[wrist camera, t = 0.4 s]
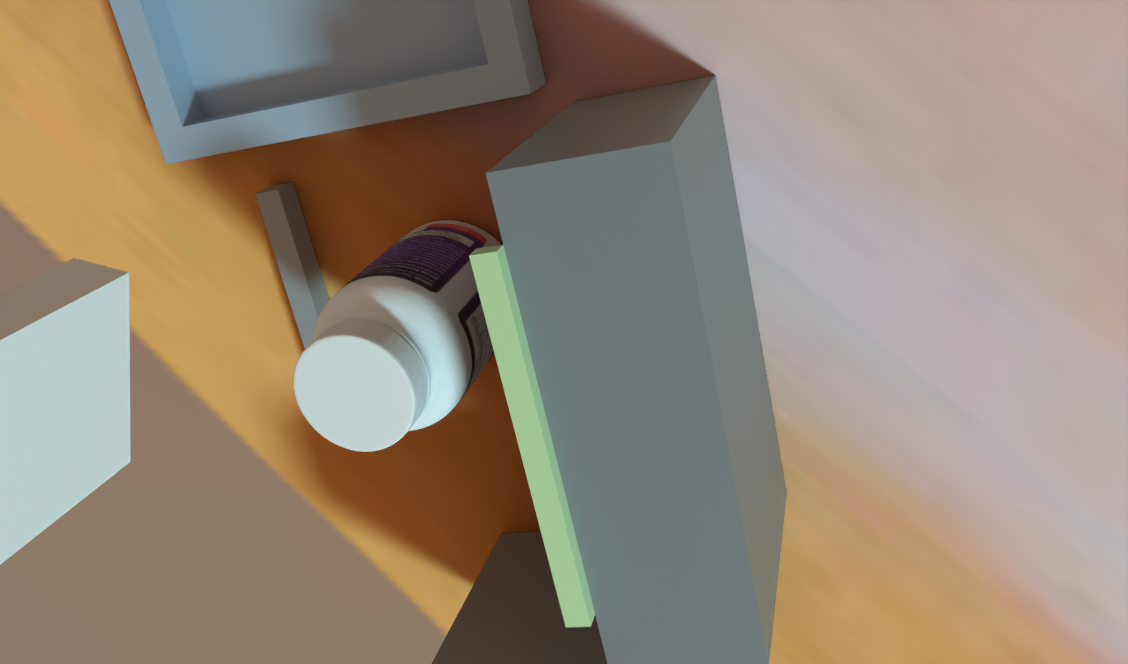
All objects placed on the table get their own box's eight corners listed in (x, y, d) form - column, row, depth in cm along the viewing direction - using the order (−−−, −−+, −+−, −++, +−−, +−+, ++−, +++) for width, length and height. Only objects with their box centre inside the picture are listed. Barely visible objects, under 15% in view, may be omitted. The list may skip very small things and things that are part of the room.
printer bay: (262, 160, 41) (85, 245, 32) (715, 75, 36) (666, 146, 26) (407, 617, 48) (298, 799, 39) (805, 602, 43) (792, 808, 33)
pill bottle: (364, 279, 42) (238, 384, 33) (450, 188, 40) (338, 275, 31) (464, 375, 43) (365, 504, 34) (554, 290, 40) (472, 405, 32)
